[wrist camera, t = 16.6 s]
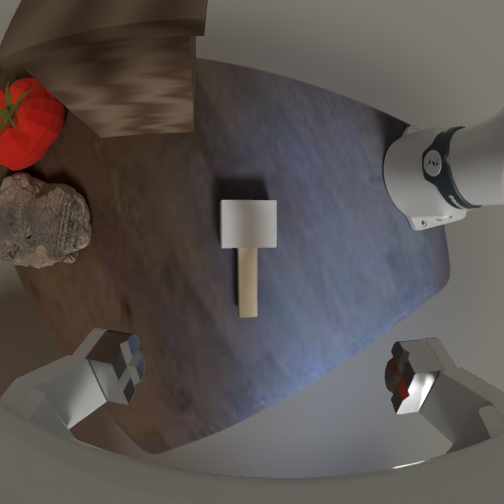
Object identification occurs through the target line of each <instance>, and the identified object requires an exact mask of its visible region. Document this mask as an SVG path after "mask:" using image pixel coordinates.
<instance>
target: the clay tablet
mask: <svg viewBox="0 0 504 504" xmlns="http://www.w3.org/2000/svg"><path fill="white" fill-rule="evenodd" d="M75 191H76V190H75V189H74V188H72V187H70V186H68V185H65V184H62V183H60V184H57V183H46V182H44V181H41V180H39V179H37V178H36V177H31V175H30V174H27V173H23V172H18V173H15V174H13V175H12V176H8V177H5V178H4V179H3V182H2V184H1V186H0V260H3V261H4V260H7V261H10V262H12V263H13V264H15V265H23V266H25V267H27V266H29V267H30V266H33V267H35V268H42V267H46V266H53V264H54V263H56V262H66V263H73V262H74V261H75V260H76V258H77V256H78V254H79V250H80V249H82V248H84V247H86V246H87V245H88V244H89V242H90V240H91V224H90V223H89V222H90V212H89V208H88V205H87V204H86V201H85V199H84V198H83V196H82V195H80V194H79V193H77V192H75Z"/></svg>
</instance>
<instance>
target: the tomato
mask: <svg viewBox="0 0 504 504" xmlns="http://www.w3.org/2000/svg"><path fill="white" fill-rule="evenodd" d="M8 83H9V82H8ZM8 83H7V86H6V88H2V89H1V90H0V165H5V166H6V167H7V168H9V169H11V170H12V171H14V170H21V169H24V168H27V167H29V166H31V165H33V164H34V163H36V162H37V161H38V160H40V159H41V158H43V157H44V155H45V153H46V152H47V150H48V148H49V147H50V145H51V144H52V143H53V142H54V141H55V140H56V139H57V138H58V137H59V135H60V132H61V130H62V128H63V125H64V117H65V107H64V105H63V104H62V103H61V102H60V101H59V100H58V99H57V98H56V97H55V96H53V95H52V94H51V93H50V92H49V91H48V90H47V89H46V88H45V87H43V86H42V85H41V84H40V83H39V82H38V81H37V80H36V79H35V78H22V79H18V80H16V81H15V82H14V83H12V84H11V85H10V87H8Z"/></svg>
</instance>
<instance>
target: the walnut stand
mask: <svg viewBox="0 0 504 504" xmlns="http://www.w3.org/2000/svg"><path fill="white" fill-rule="evenodd" d="M207 2H208V0H22V1H21V2H20V4H19V6H18V8H17V10H16V12H15V14H14V16H13V18H12V20H11V22H10V25H9V27H8V29H7V31H6V33H5V36H4V38H3V40H2V43H1V45H0V66H1V67H2V68H3V69H5V70H6V71H7V70H10V69H13V68H15V67H18V66H21V67H23V68H24V69H25V70H26V71H27V72H28V73H29V74H30V75H31V76H32V77H34V78H35V79H36V80H37V81H38V82H39V83H40V84H41V85H42V86H43V87H45V88H46V89H47V90H48V91H49V92H50V93H51V94H52V95H53V96H55V97H56V98H57V99H58V100H59V101H60V102H61V103H62V104H63V105H65V106H66V107H67V108H68V109H69V110H70V111H71V112H72V113H74V114H75V115H76V116H77V117H78V118H79V119H80V120H81V121H82V122H84V123H85V124H86V125H87V126H88V127H89V128H90V129H91V130H93V131H94V132H95V133H96V134H97V135H98V136H99V137H101V138H104V137H114V136H125V135H138V134H153V133H176V132H194V131H195V108H196V36H204V32H205V21H206V10H207Z"/></svg>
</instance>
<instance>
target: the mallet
mask: <svg viewBox="0 0 504 504" xmlns="http://www.w3.org/2000/svg"><path fill="white" fill-rule="evenodd" d="M276 241H277V216H276V200H221V201H220V247H221V248H237V253H238V315H239V317H240V318H243V317H257V248H259V247H276Z"/></svg>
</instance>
